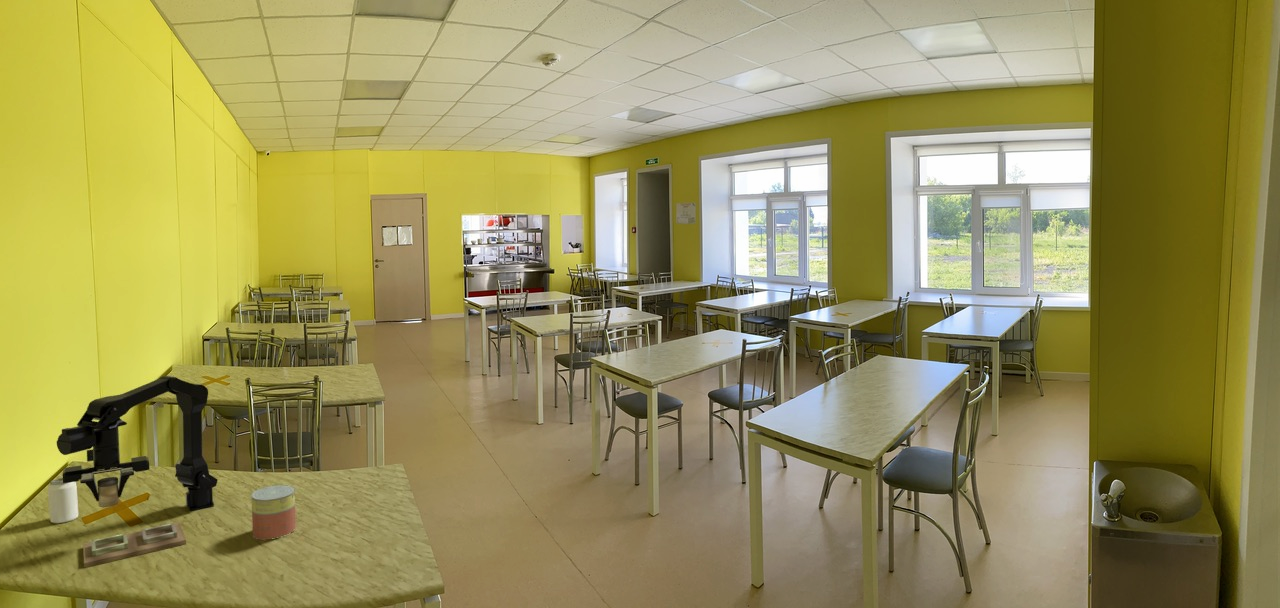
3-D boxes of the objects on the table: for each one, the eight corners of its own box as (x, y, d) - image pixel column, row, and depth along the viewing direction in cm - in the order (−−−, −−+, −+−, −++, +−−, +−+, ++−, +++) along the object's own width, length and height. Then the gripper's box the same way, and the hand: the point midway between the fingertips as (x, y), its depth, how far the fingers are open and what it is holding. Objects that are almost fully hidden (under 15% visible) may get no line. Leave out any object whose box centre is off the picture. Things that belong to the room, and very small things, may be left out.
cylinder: (118, 499, 190) (117, 475, 190) (119, 504, 187) (118, 480, 186) (98, 503, 187) (97, 479, 187) (98, 508, 184) (97, 483, 183)
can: (62, 525, 197) (59, 485, 196) (44, 522, 198) (41, 483, 197) (84, 516, 203) (81, 478, 202) (67, 513, 205) (64, 476, 204)
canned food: (304, 528, 199) (303, 489, 198) (269, 543, 189) (268, 502, 188) (279, 520, 204) (277, 482, 203) (243, 535, 194) (242, 495, 193)
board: (179, 526, 198) (179, 517, 198) (186, 543, 188) (185, 534, 187) (83, 547, 184) (82, 538, 184) (84, 567, 173) (83, 557, 173)
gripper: (145, 432, 198) (148, 483, 199) (62, 442, 186) (65, 497, 187) (148, 441, 189) (150, 494, 190) (61, 453, 177) (64, 510, 179)
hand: (108, 498), depth 187 cm, fingers closed on cylinder, 4 cm apart
